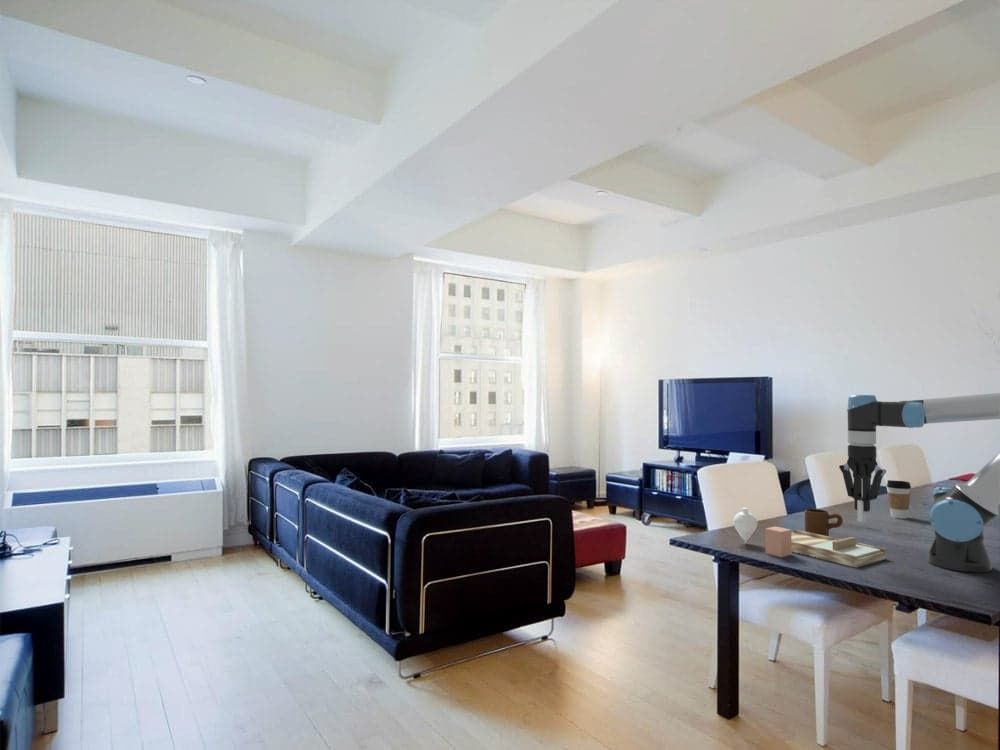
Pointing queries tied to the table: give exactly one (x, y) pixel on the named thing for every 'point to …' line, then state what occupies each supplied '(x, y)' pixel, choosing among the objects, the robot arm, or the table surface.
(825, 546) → the lid
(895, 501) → the coffee cup
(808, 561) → the table surface
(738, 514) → the spinning top
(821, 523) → the mug
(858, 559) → the beige flat rectangular tray
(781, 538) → the block
